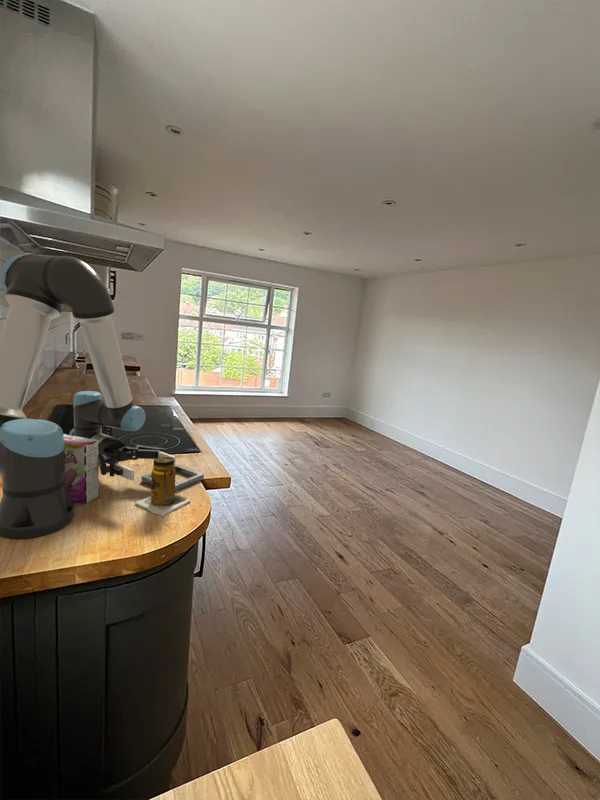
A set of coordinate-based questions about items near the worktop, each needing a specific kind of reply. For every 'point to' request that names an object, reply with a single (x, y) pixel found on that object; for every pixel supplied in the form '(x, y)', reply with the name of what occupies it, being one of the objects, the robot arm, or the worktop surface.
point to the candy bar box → (81, 468)
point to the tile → (158, 510)
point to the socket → (180, 485)
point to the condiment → (163, 483)
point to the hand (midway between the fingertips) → (155, 468)
